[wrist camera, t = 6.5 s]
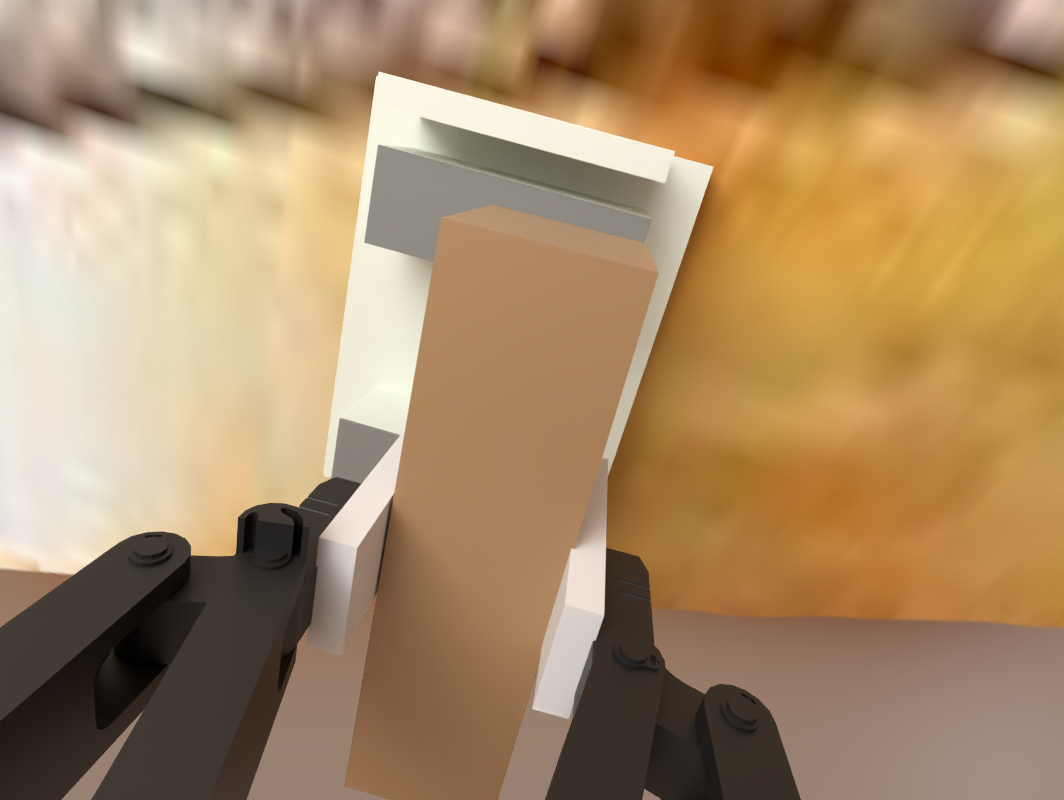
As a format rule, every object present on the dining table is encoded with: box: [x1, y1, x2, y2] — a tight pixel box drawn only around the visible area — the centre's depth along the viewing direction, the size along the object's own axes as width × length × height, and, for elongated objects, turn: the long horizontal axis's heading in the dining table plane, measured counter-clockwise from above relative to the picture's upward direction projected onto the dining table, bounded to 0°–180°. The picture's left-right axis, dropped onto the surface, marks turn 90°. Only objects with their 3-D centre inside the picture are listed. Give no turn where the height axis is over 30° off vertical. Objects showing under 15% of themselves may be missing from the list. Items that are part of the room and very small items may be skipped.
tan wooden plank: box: [345, 205, 659, 800], centre depth 16 cm, size 15×4×5 cm, turn 167°
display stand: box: [323, 72, 713, 484], centre depth 27 cm, size 19×14×7 cm
